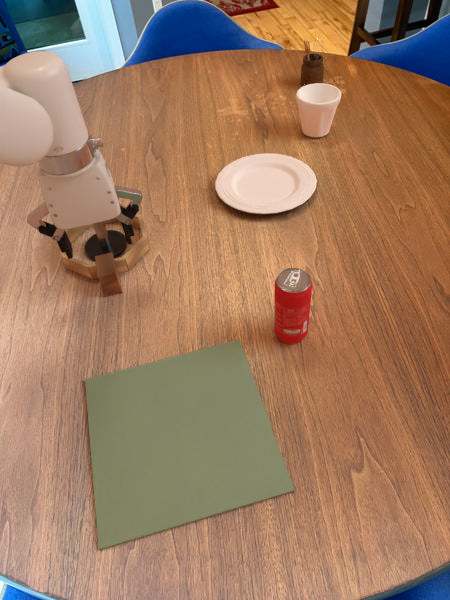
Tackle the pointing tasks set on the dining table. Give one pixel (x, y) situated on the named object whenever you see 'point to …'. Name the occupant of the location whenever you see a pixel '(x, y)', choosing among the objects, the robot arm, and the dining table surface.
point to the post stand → (105, 242)
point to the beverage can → (292, 305)
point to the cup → (317, 108)
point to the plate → (265, 183)
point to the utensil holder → (312, 66)
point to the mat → (179, 443)
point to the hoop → (108, 259)
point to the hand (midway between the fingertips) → (100, 246)
